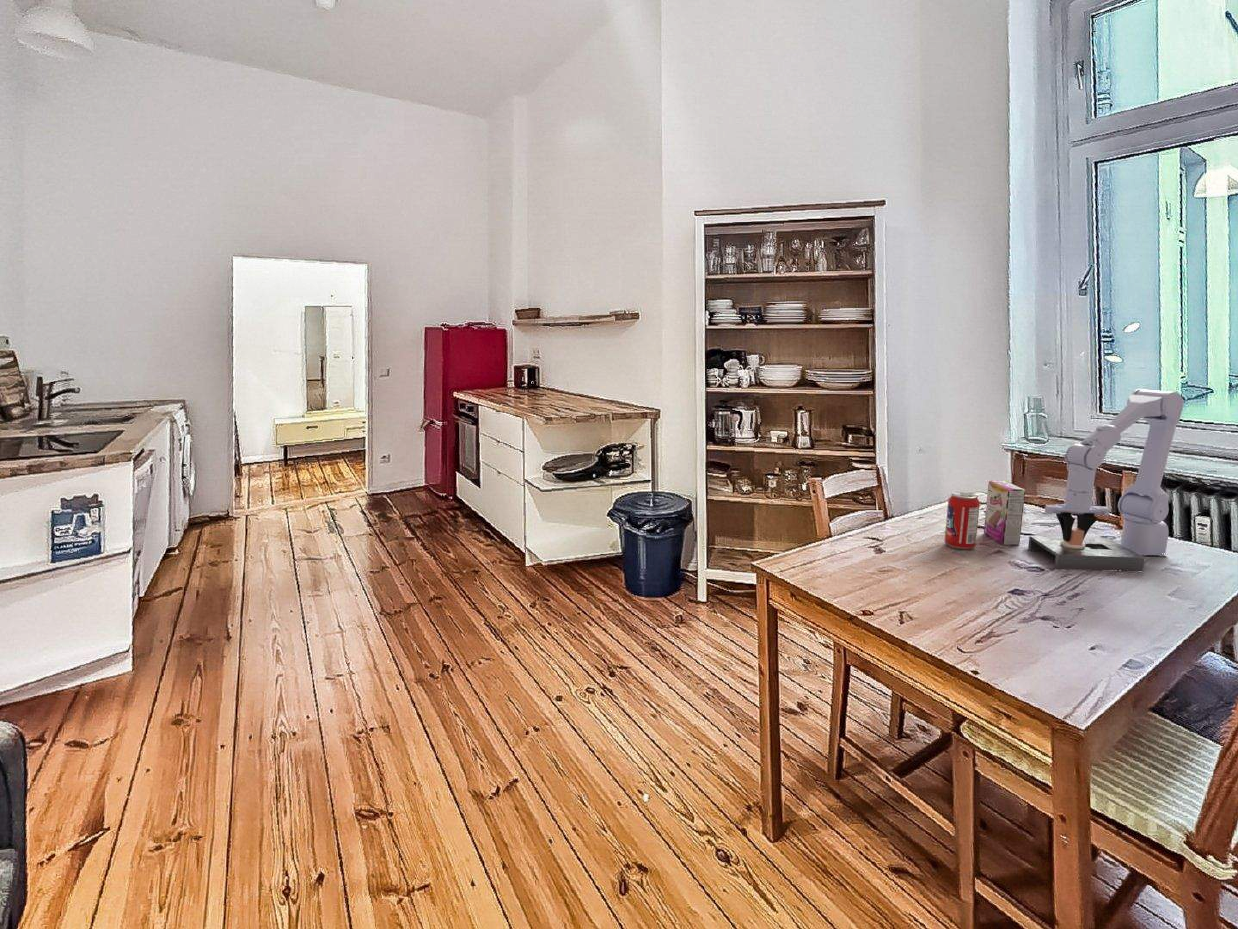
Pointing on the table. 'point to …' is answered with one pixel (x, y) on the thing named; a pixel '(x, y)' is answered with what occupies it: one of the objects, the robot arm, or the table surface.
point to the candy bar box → (1004, 512)
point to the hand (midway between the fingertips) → (1072, 540)
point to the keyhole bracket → (1089, 554)
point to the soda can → (962, 520)
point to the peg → (1074, 539)
